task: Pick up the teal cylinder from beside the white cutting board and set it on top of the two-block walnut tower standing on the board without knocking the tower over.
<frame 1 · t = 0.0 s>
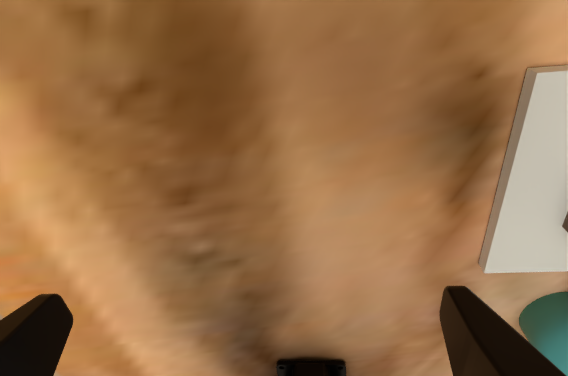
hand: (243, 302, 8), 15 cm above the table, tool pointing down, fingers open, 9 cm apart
teal cylinder: (556, 315, 29), on the table
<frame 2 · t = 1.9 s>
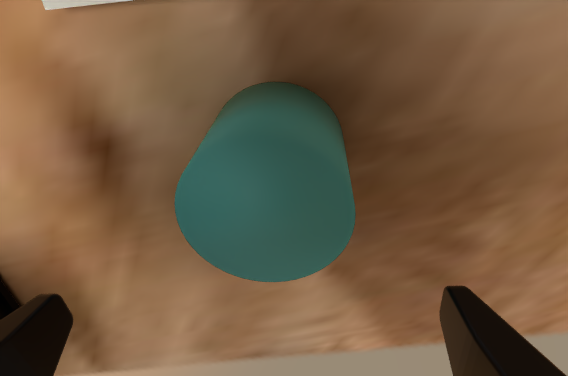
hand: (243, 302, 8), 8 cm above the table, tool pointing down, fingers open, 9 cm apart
teal cylinder: (277, 146, 15), on the table
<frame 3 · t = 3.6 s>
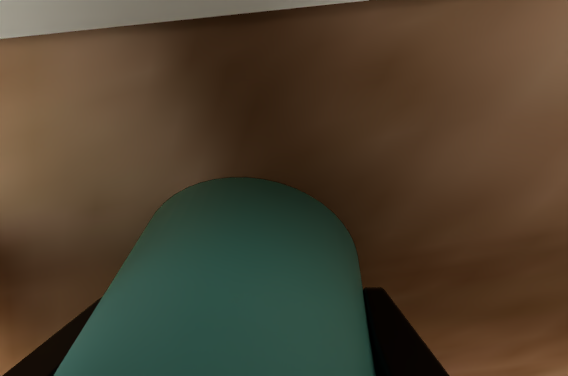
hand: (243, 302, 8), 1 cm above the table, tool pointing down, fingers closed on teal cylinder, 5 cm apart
teal cylinder: (249, 269, 9), on the table, touching gripper
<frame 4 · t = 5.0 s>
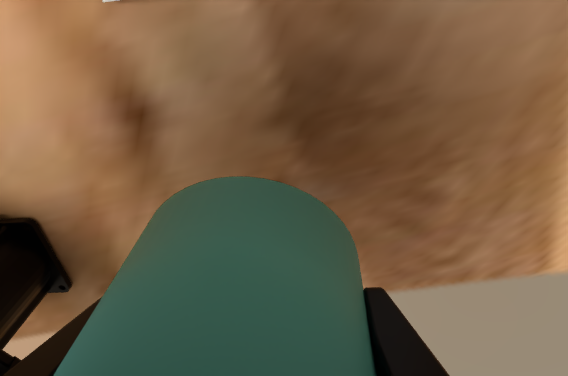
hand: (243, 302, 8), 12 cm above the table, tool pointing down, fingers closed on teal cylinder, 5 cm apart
teal cylinder: (250, 268, 9), point 11 cm above the table, touching gripper
when the fingers open (11 cm above the table, at t = 6.8 s): teal cylinder stays where it is, resting on tower top.
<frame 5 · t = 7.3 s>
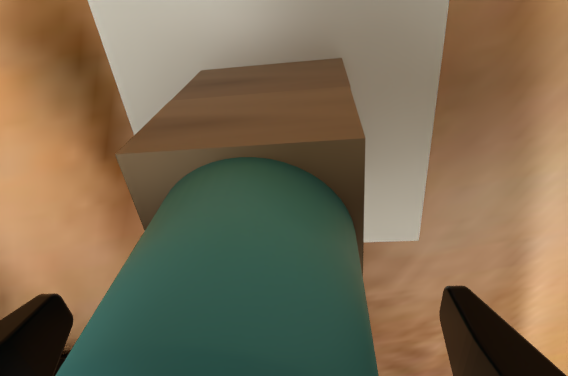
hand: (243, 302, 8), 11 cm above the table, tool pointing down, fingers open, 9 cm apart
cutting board: (279, 122, 18), on the table
tower top: (268, 172, 13), point 5 cm above the table, touching teal cylinder, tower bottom
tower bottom: (277, 130, 17), point 1 cm above the table, touching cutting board, tower top
teal cylinder: (256, 244, 10), point 9 cm above the table, touching tower top
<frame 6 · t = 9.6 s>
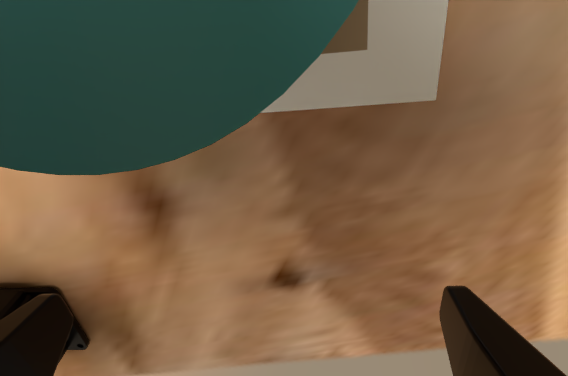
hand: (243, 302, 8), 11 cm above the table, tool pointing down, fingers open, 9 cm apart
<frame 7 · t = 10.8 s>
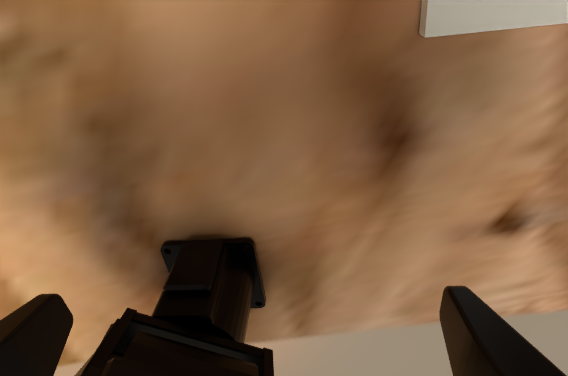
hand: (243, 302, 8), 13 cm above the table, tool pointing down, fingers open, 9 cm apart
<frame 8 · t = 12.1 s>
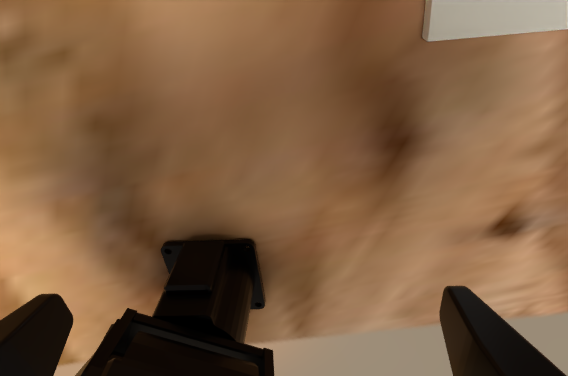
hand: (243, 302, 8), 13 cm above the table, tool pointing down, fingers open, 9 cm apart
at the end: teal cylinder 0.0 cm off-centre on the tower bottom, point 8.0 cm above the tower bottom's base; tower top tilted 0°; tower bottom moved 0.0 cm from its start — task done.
